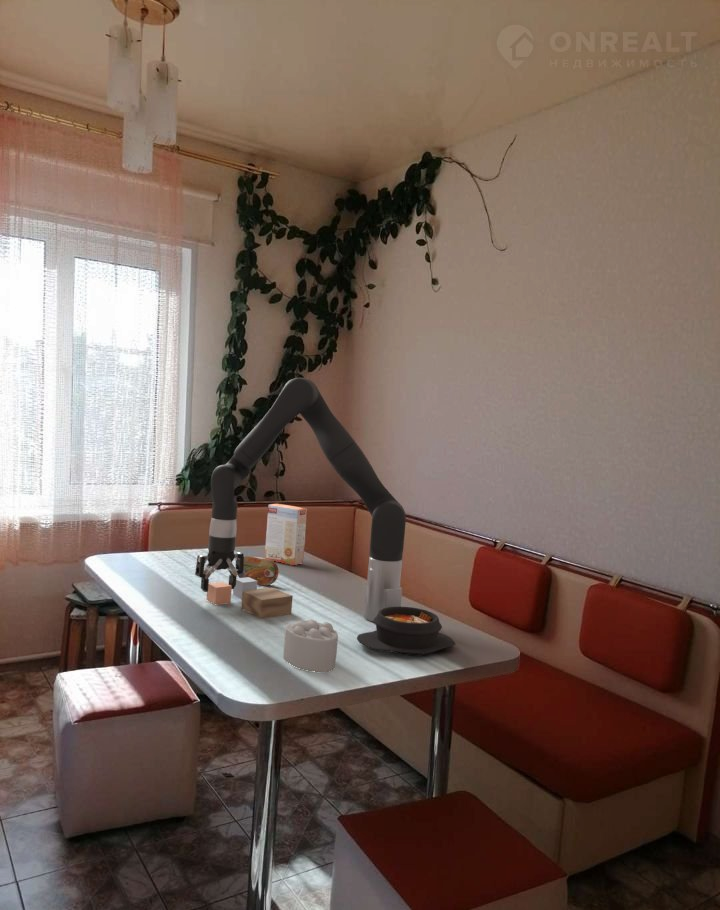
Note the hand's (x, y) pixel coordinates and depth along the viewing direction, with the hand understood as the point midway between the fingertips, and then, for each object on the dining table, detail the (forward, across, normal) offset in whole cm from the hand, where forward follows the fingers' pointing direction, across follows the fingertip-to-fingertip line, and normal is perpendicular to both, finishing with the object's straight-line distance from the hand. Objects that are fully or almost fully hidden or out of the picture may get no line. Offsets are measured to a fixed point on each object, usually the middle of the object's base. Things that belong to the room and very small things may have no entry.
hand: (218, 589), depth 203 cm
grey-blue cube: (+3, +10, +2) cm, 11 cm away
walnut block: (+3, +7, -14) cm, 16 cm away
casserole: (+3, +21, -55) cm, 59 cm away
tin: (+4, +22, +14) cm, 26 cm away
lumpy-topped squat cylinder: (+3, -6, -52) cm, 53 cm away
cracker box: (+4, +48, +36) cm, 60 cm away
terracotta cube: (+4, 0, 0) cm, 4 cm away
